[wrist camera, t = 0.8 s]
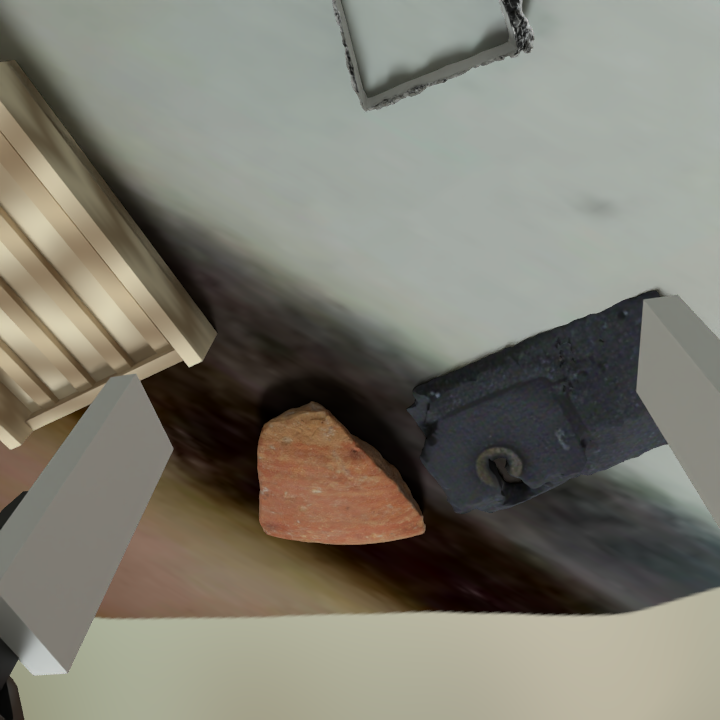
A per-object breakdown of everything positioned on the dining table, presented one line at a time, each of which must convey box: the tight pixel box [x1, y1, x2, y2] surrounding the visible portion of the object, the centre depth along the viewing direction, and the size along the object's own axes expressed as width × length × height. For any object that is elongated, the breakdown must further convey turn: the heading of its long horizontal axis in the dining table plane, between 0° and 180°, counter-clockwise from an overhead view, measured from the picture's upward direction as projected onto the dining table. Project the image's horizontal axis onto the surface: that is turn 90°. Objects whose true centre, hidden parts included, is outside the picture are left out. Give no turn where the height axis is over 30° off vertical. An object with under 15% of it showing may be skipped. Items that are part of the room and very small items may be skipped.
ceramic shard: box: [257, 401, 426, 545], centre depth 49 cm, size 15×6×15 cm
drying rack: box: [0, 60, 217, 450], centre depth 40 cm, size 21×19×4 cm
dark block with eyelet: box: [407, 291, 668, 514], centre depth 45 cm, size 15×22×5 cm
